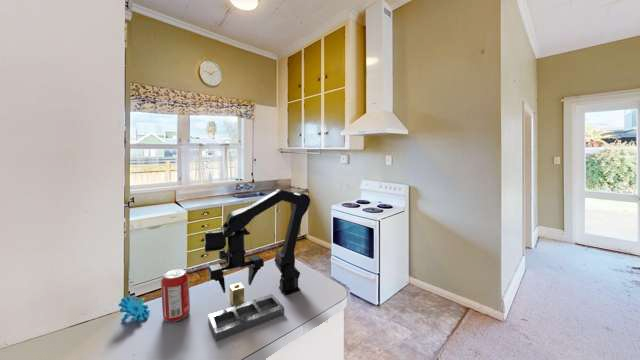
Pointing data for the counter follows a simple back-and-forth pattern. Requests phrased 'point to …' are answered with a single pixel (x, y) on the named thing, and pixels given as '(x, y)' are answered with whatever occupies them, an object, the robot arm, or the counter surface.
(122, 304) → the gear
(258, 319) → the tray
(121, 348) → the counter surface
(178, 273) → the soda can
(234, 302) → the brass block
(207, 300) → the counter surface
